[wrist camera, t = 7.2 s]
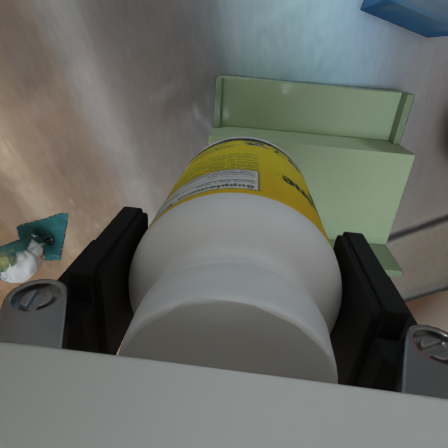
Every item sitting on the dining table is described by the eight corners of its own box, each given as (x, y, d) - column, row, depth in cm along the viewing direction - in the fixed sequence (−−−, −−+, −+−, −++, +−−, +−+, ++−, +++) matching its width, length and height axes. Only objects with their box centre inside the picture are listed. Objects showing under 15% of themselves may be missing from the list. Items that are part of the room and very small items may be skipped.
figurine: (28, 303, 44) (-20, 333, 36) (-7, 240, 43) (-65, 258, 35) (106, 270, 41) (70, 294, 34) (70, 201, 40) (25, 212, 33)
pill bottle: (314, 237, 18) (388, 468, 8) (200, 258, 19) (140, 481, 9) (295, 117, 15) (368, 236, 5) (164, 149, 16) (25, 295, 6)
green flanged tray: (219, 74, 31) (203, 85, 21) (398, 90, 30) (465, 108, 21) (211, 201, 37) (196, 256, 27) (361, 216, 36) (401, 278, 26)
